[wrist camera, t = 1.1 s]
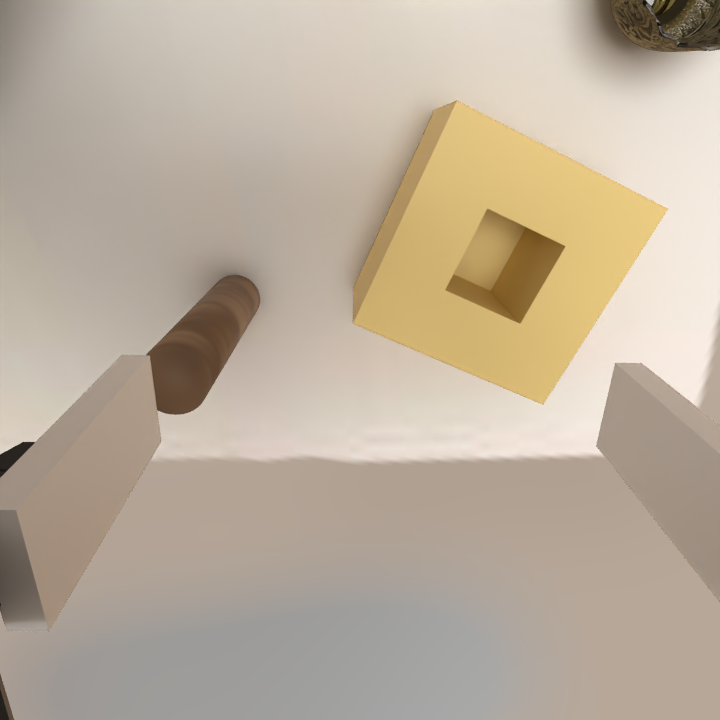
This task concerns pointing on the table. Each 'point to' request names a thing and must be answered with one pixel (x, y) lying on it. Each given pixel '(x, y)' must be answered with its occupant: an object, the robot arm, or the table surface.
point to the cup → (670, 24)
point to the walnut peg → (201, 345)
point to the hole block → (499, 253)
